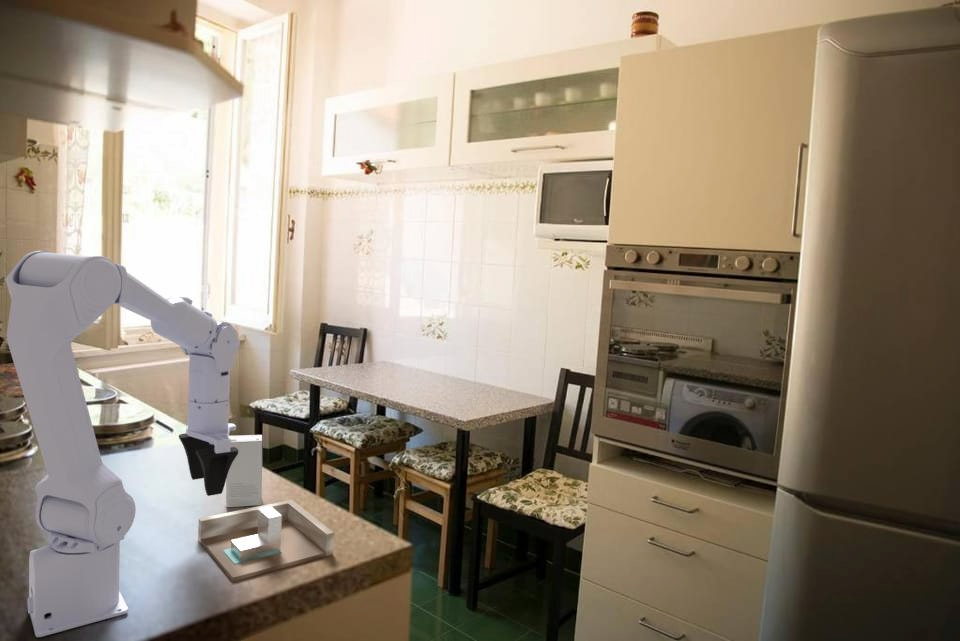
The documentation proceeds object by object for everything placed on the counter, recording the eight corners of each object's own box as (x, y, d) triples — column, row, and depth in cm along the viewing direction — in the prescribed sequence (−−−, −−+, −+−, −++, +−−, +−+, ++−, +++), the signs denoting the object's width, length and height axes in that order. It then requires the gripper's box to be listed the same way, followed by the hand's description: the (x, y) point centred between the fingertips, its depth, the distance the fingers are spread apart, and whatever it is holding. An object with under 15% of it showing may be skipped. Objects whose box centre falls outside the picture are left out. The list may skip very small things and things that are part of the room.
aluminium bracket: (280, 550, 97) (281, 515, 96) (240, 560, 93) (241, 524, 92) (269, 540, 100) (271, 506, 99) (230, 549, 96) (231, 514, 95)
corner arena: (232, 581, 88) (233, 557, 88) (198, 540, 100) (198, 518, 99) (332, 554, 98) (334, 532, 98) (291, 519, 110) (291, 499, 109)
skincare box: (261, 497, 118) (263, 433, 117) (261, 506, 114) (264, 440, 113) (225, 499, 116) (227, 434, 115) (224, 509, 112) (226, 441, 111)
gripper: (252, 407, 94) (249, 496, 95) (220, 387, 105) (218, 467, 106) (202, 412, 90) (199, 505, 91) (174, 390, 101) (172, 474, 102)
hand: (206, 485), depth 98 cm, fingers open, 7 cm apart
